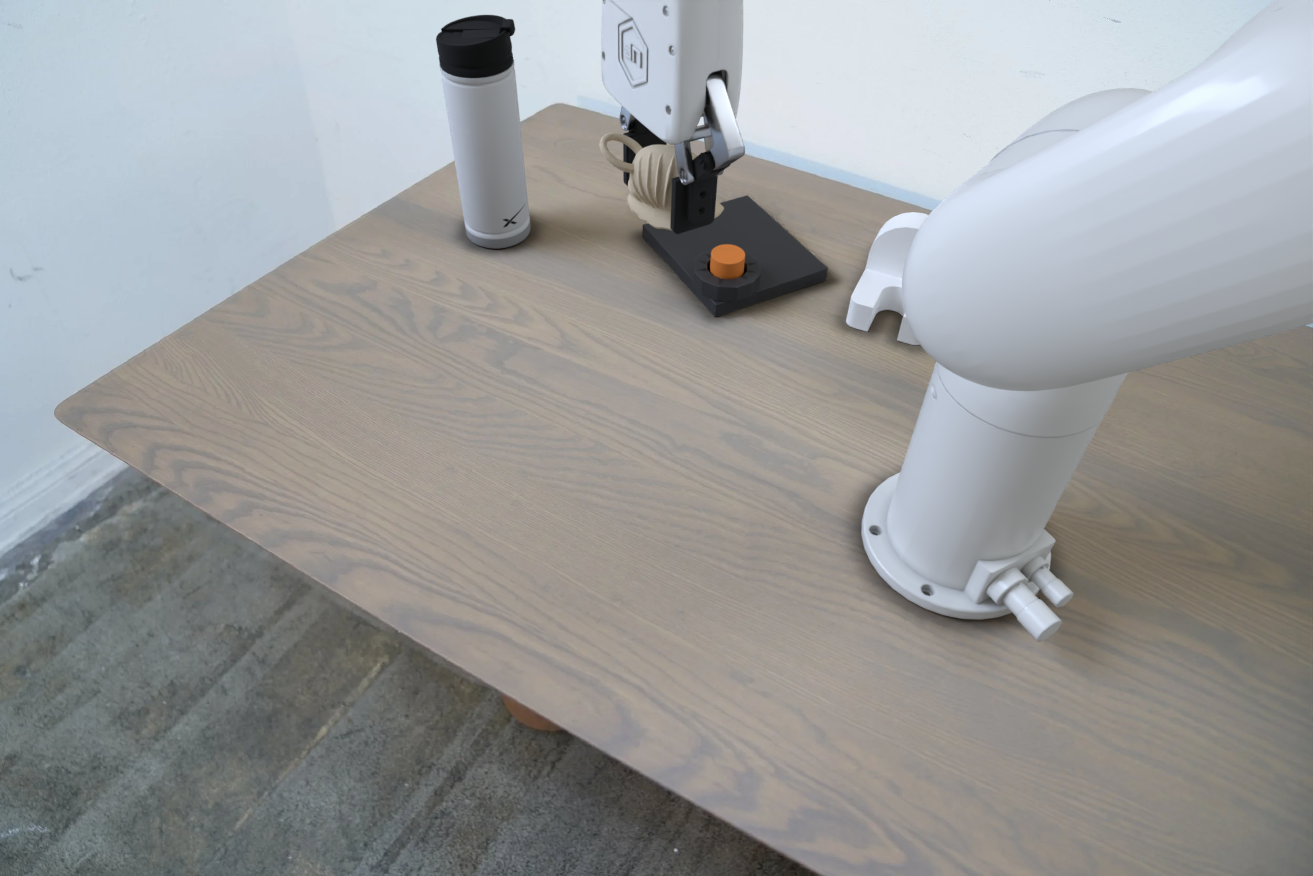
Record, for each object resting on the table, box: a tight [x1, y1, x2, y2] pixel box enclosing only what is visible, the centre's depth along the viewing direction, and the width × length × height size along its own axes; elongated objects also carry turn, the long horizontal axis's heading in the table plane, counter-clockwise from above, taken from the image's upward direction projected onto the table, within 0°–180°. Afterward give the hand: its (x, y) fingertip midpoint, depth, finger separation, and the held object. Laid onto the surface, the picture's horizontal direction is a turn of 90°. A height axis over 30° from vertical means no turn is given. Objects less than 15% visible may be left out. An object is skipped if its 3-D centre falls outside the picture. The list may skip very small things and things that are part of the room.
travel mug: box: [435, 14, 531, 250], centre depth 81 cm, size 6×7×20 cm
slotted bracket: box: [845, 211, 929, 346], centre depth 79 cm, size 13×7×8 cm, turn 155°
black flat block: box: [641, 195, 829, 318], centre depth 84 cm, size 14×12×3 cm
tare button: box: [710, 244, 745, 279], centre depth 79 cm, size 3×3×2 cm
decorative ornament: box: [598, 132, 724, 231], centre depth 62 cm, size 4×8×5 cm, turn 69°
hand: (667, 201), depth 63 cm, fingers closed on decorative ornament, 5 cm apart
